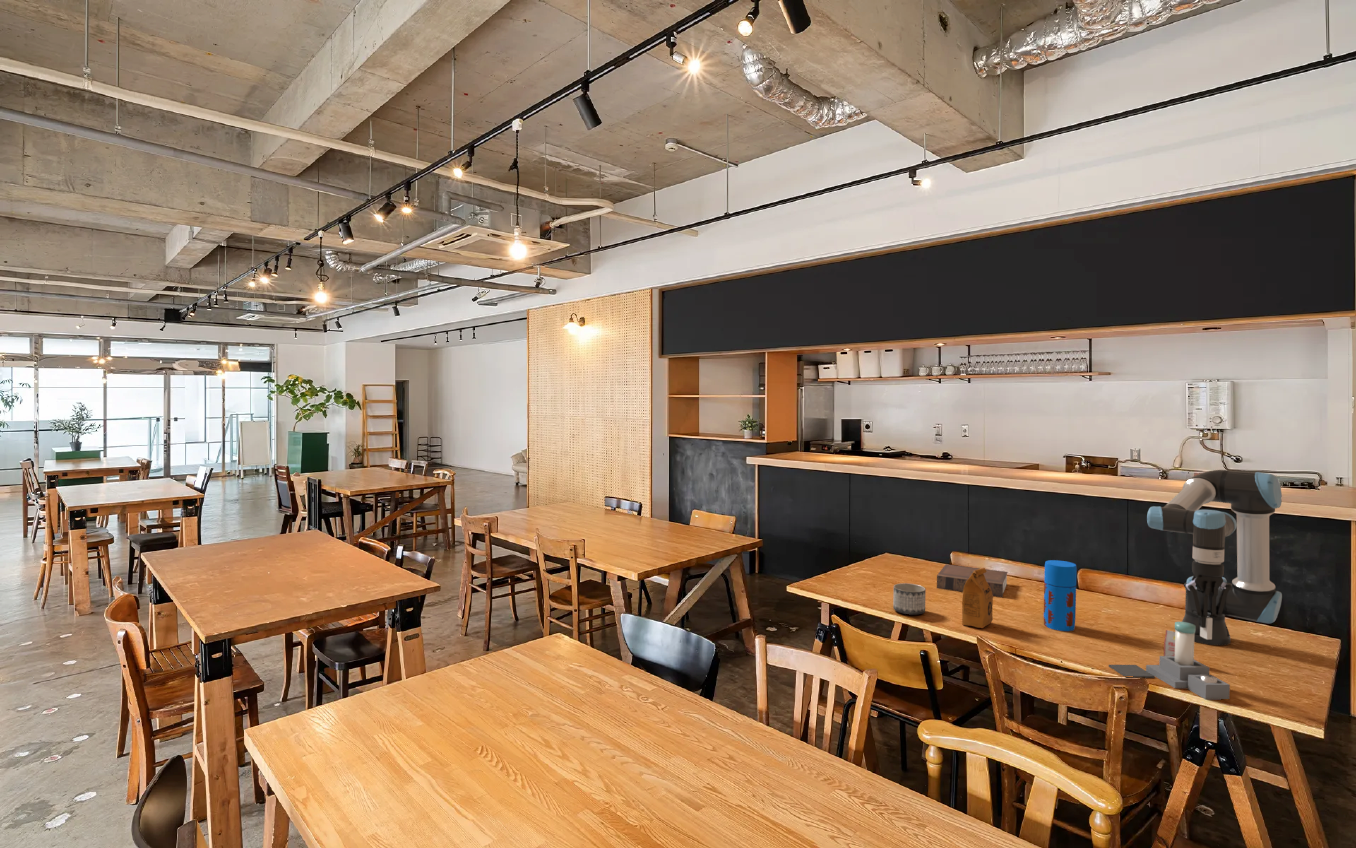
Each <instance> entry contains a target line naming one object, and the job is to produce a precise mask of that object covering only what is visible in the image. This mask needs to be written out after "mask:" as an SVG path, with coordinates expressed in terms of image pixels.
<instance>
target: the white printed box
mask: <svg viewBox="0 0 1356 848" xmlns="http://www.w3.org/2000/svg"><path fill="white" fill-rule="evenodd" d="M1163 656H1175V631H1172V630H1167V629H1166V630H1165V634H1164V641H1163Z"/></svg>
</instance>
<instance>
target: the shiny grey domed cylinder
mask: <svg viewBox="0 0 1356 848" xmlns="http://www.w3.org/2000/svg"><path fill="white" fill-rule="evenodd" d="M1217 678H1218V677H1216V676H1214V675H1212V674H1210V673H1209V674H1201V675H1200V679H1201V680H1202V681H1204V682H1206V683H1217Z"/></svg>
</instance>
